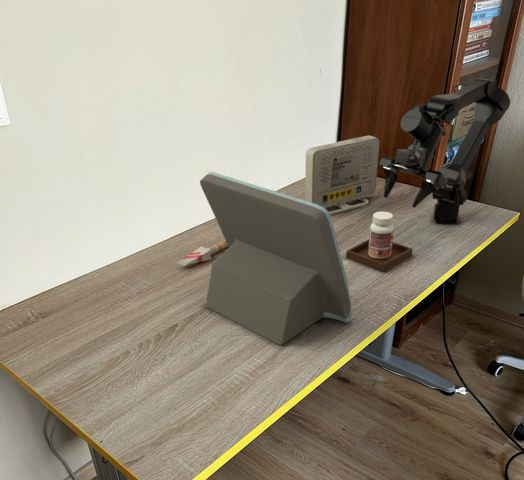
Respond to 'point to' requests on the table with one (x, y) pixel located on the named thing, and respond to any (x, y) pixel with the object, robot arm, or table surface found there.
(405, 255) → the walnut tray
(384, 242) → the pill bottle
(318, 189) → the network device
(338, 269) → the touchscreen device
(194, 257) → the chopstick bundle
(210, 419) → the table surface
